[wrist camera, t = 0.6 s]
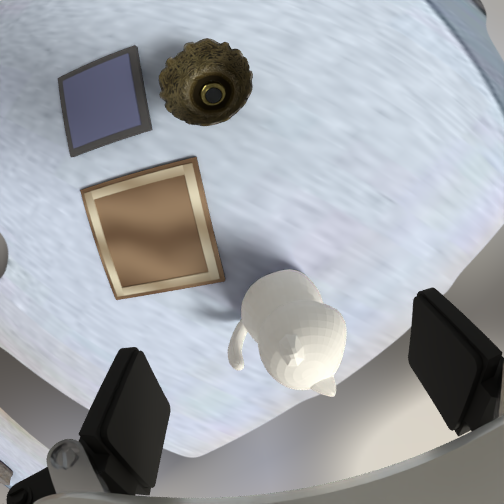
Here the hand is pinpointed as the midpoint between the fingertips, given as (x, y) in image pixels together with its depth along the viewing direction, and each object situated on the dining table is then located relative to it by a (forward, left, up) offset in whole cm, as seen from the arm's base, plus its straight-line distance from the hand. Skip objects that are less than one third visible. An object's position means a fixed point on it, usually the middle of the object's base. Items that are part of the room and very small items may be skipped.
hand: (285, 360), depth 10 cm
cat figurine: (+12, 0, -25) cm, 27 cm away
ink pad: (-15, -14, -24) cm, 32 cm away
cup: (-12, -2, -25) cm, 28 cm away
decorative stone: (+67, -104, -25) cm, 126 cm away
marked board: (+1, -12, -24) cm, 27 cm away
